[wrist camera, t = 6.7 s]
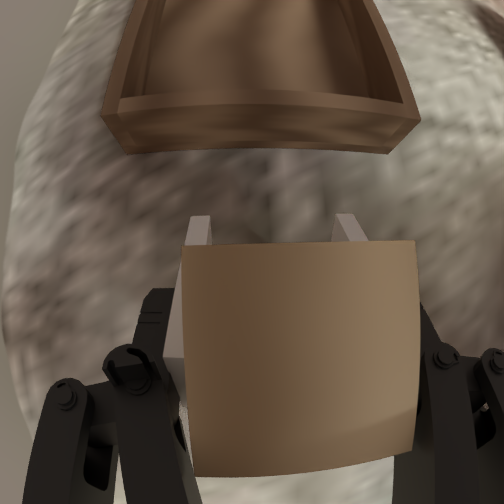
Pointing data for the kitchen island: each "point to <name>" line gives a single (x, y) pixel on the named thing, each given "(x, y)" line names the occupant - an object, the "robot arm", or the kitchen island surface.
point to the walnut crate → (258, 77)
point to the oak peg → (299, 354)
